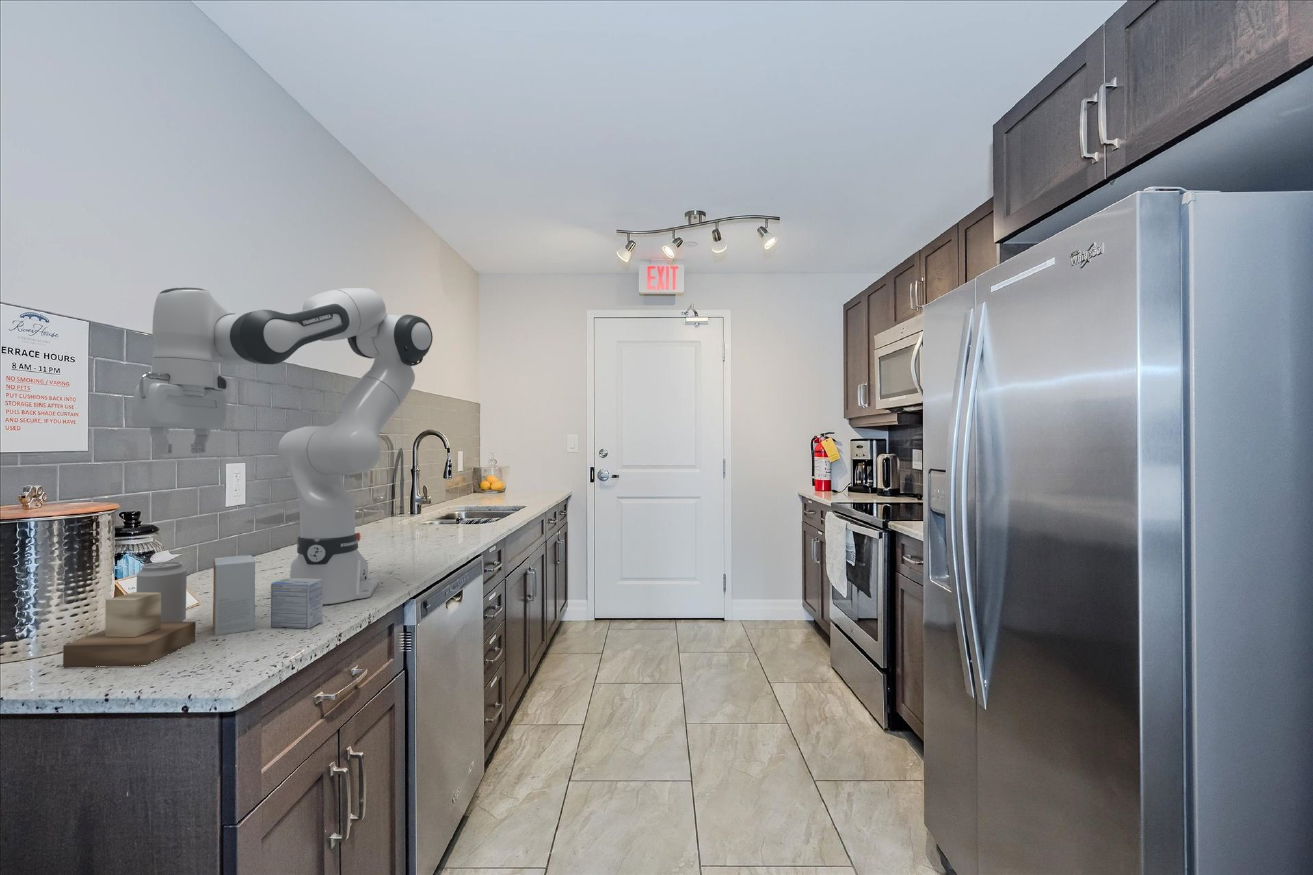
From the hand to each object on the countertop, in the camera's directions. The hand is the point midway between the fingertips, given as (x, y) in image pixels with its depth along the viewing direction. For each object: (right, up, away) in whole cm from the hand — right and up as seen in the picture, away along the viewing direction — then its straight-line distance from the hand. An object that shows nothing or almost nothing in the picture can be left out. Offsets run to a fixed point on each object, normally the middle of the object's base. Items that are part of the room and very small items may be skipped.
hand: (181, 453), depth 111 cm
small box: (+5, -34, +6) cm, 34 cm away
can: (-9, -33, +7) cm, 35 cm away
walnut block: (-2, -34, -8) cm, 35 cm away
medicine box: (+16, -34, +9) cm, 38 cm away
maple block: (-2, -30, -8) cm, 31 cm away
